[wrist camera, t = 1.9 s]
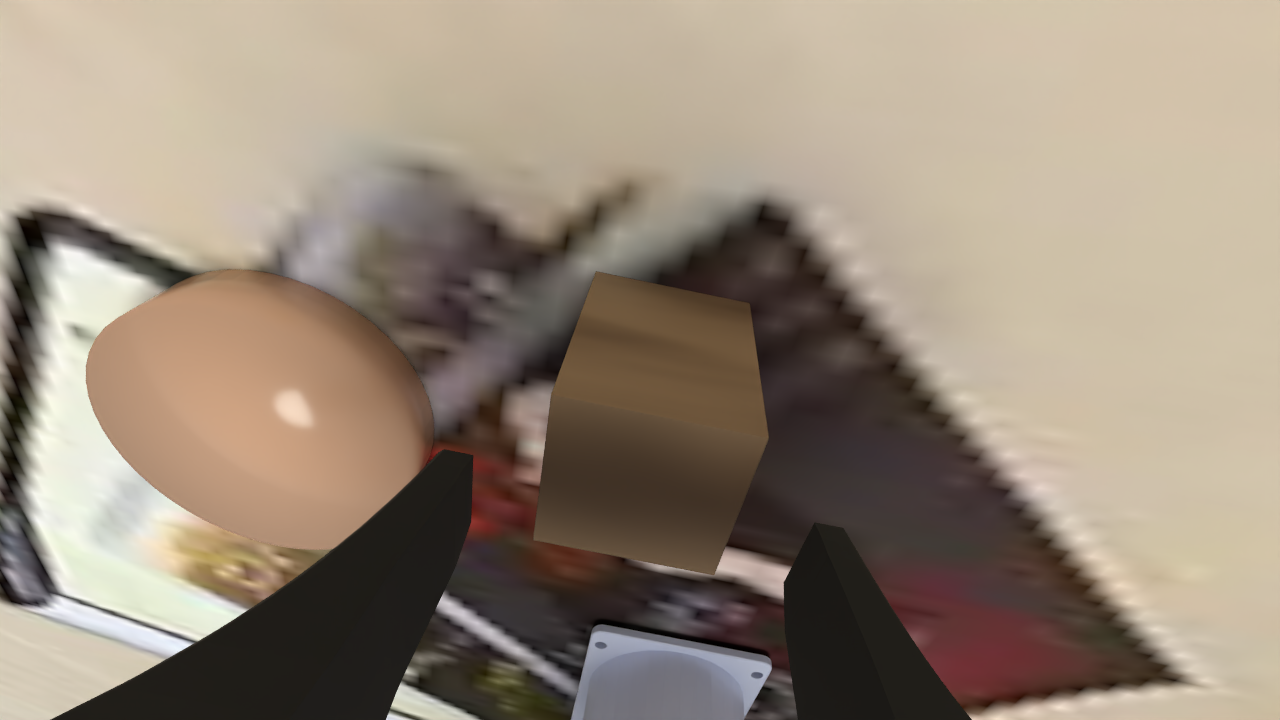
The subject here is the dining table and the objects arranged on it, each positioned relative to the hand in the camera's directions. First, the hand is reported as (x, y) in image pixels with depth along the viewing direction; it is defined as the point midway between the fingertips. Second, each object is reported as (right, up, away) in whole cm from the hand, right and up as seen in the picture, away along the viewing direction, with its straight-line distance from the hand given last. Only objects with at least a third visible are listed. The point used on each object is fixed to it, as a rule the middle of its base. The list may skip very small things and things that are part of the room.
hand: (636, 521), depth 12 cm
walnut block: (+1, +4, +6) cm, 7 cm away
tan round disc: (-12, +2, +8) cm, 15 cm away
